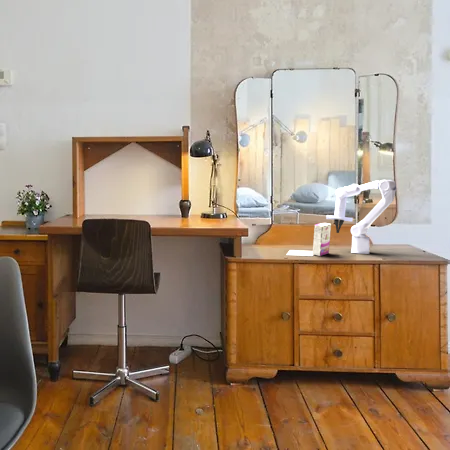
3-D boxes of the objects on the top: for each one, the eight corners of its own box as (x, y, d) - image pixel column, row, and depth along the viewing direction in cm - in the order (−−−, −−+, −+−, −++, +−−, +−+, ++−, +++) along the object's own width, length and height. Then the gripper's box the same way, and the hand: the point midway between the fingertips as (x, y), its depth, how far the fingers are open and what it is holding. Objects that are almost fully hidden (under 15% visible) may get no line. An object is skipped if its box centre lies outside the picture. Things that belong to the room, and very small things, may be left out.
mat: (314, 251, 250) (314, 251, 250) (312, 256, 235) (312, 256, 235) (290, 250, 254) (290, 250, 254) (286, 255, 239) (286, 254, 239)
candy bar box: (320, 251, 247) (323, 222, 245) (329, 253, 244) (331, 223, 242) (311, 254, 239) (314, 224, 236) (320, 256, 236) (323, 225, 233)
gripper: (353, 209, 254) (351, 233, 256) (327, 207, 258) (325, 230, 260) (353, 211, 247) (350, 235, 249) (326, 208, 251) (324, 231, 253)
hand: (337, 232), depth 254 cm, fingers closed
